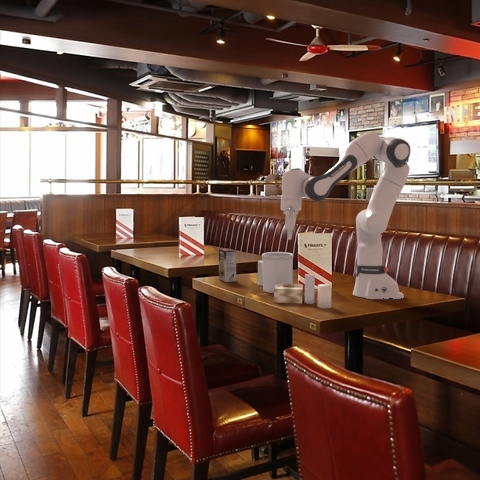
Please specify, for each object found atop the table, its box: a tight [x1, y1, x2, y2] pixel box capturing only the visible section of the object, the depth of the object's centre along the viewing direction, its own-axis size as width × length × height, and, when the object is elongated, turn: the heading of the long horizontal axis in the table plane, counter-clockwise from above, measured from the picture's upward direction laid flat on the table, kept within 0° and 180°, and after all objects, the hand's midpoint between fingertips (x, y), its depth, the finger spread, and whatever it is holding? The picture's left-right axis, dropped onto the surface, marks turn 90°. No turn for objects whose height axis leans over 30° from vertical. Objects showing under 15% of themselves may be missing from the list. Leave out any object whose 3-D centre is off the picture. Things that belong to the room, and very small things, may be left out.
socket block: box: [273, 283, 304, 304], centre depth 239 cm, size 12×12×6 cm
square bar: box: [304, 273, 316, 305], centre depth 234 cm, size 4×4×12 cm
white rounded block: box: [316, 283, 332, 309], centre depth 226 cm, size 6×6×9 cm
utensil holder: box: [261, 251, 294, 294], centre depth 259 cm, size 15×15×18 cm
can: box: [256, 259, 263, 287], centre depth 275 cm, size 9×9×12 cm
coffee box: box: [218, 248, 237, 283], centre depth 285 cm, size 9×6×16 cm
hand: (289, 238), depth 237 cm, fingers open, 8 cm apart
